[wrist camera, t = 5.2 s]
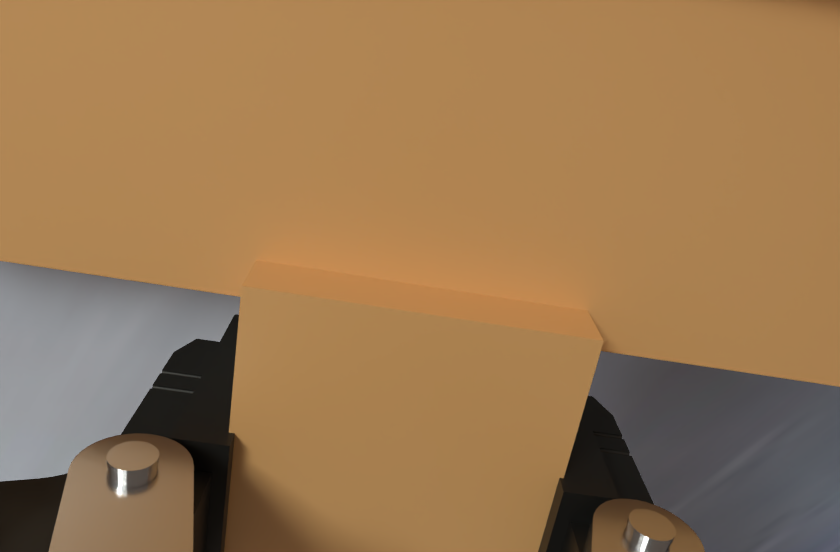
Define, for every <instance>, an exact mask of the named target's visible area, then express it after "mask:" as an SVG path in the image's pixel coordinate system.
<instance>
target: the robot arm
mask: <svg viewBox="0 0 840 552" xmlns="http://www.w3.org/2000/svg"><path fill="white" fill-rule="evenodd" d="M238 321H239V315H234V317H233V319H232V320H231V322H230V324H229V326H228V328H227V330H226V332H225V334H224V336H223V337H222V339H221V341H220V342H215V341H208V340H201V339H196V340H194V341H192V342H190V343H189V344H187V345H185V346H184V347H182V348H180V349H178V350H177V351H175V352H174V353H173V354H172V356H171V357H170V359H169V360H168V362H167V364H166V365H165V367H164V368H163V370H162V374H159V376H158V378H157V379H156V381H155V382H154V384H153V387H152V389H150V390H149V392H148V393H147V395H146V396H145V398H144V399H143V401H142V403H141V404H140V406H139V407H138V409H137V410H136V412H135V413H134V415H133V417H132V418H131V420H130V421H129V423H128V424H127V426H126V427H125V429H124V431H123V432H122V434H121V435H117V436H113V437H109V438H106V439H103V440H100V441H98V442H96V443H94V444H92V445H90V446H88V447H87V448H85V449H84V450H82V451H81V452H80V453H79V454H78V455H77V456H76V457H75V458H74V460H73V461H72V462H71V465H70V467H69V470H68V473H67V474H64V475H59V476H54V477H48V478H40V479H28V480H15V481H3V482H0V552H224V547H225V536H226V525H227V514H228V503H229V492H230V481H231V470H232V459H233V448H234V437H235V433H229V424H230V412H231V401H232V390H233V378H234V367H235V355H236V344H237V333H238ZM538 552H705V551H704V547H703V545H702V543H701V541H700V539H699V537H698V536H697V535H696V533H695V532H694V531H693V530H692V529H691V528H690V527H689V526H688V525H687V524H686V523H685V522H683V521H682V520H681V519H680V518H678V517H677V516H675V515H674V514H672V513H670V512H668V511H667V510H665V509H663V508H660V507H658V506H656V505H654V504H653V501H652V499H651V497H650V495H649V493H648V491H647V488H646V486H645V484H644V482H643V480H642V478H641V476H640V473H639V471H638V469H637V467H636V465H635V463H634V460H633V458H632V456H629V450H628V447H627V445H626V443H625V441H624V439H622V434H621V432H620V430H619V428H618V426H617V424H616V421H615V419H614V417H613V415H612V414H611V413H610V412H608V411H607V410H606V409H605V408H604V407H603V406H602V405H601V404H600V403H599V402H598V401H597V400H596V399H595V398H594V397H592V396H588V397H587V400H586V403H585V407H584V410H583V414H582V417H581V421H580V424H579V427H578V431H577V434H576V438H575V441H574V445H573V448H572V451H571V455H570V458H569V462H568V465H567V469H566V472H565V475H564V478H559V481H558V484H557V488H556V491H555V495H554V498H553V502H552V505H551V509H550V512H549V516H548V519H547V522H546V526H545V529H544V533H543V536H542V540H541V543H540V547H539V550H538Z"/></svg>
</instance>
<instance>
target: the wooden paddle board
mask: <svg viewBox="0 0 840 552" xmlns="http://www.w3.org/2000/svg"><path fill="white" fill-rule="evenodd" d="M0 261H5V262H12V263H19V264H25V265H32V266H39V267H45V268H52V269H59V270H65V271H72V272H79V273H85V274H92V275H99V276H105V277H112V278H119V279H125V280H132V281H139V282H145V283H152V284H159V285H165V286H172V287H179V288H185V289H192V290H199V291H205V292H212V293H219V294H225V295H232V296H239V297H241V298H240V310H239V321H238V333H237V344H236V355H235V367H234V378H233V390H232V401H231V412H230V424H229V433H235V437H234V448H233V459H232V470H231V481H230V492H229V503H228V514H227V525H226V536H225V547H224V552H538V550H539V547H540V543H541V540H542V536H543V533H544V529H545V526H546V522H547V519H548V516H549V512H550V509H551V505H552V502H553V498H554V495H555V491H556V488H557V484H558V481H559V478H564V475H565V472H566V469H567V465H568V462H569V458H570V455H571V451H572V448H573V445H574V441H575V438H576V434H577V431H578V427H579V424H580V421H581V417H582V414H583V410H584V407H585V403H586V400H587V397H588V393H589V390H590V386H591V383H592V379H593V376H594V373H595V369H596V366H597V362H598V359H599V356H600V352H601V351H605V352H612V353H618V354H625V355H632V356H638V357H645V358H652V359H658V360H665V361H672V362H678V363H685V364H692V365H698V366H705V367H712V368H718V369H725V370H732V371H738V372H745V373H752V374H758V375H765V376H772V377H778V378H785V379H792V380H798V381H805V382H812V383H818V384H825V385H832V386H838V387H840V0H0Z"/></svg>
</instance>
